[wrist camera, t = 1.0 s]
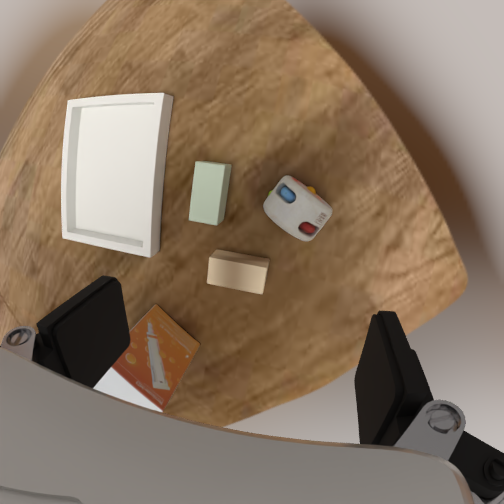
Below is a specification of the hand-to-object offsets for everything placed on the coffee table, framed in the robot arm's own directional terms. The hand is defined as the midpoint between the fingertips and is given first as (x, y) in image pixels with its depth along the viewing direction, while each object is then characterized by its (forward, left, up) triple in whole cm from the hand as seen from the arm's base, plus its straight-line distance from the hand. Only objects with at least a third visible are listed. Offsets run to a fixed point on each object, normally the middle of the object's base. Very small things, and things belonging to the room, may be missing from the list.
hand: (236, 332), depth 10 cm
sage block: (+1, +7, -23) cm, 24 cm away
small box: (-19, +12, -23) cm, 32 cm away
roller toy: (+1, -2, -23) cm, 23 cm away
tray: (+2, +20, -22) cm, 30 cm away
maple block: (-7, +3, -23) cm, 24 cm away
